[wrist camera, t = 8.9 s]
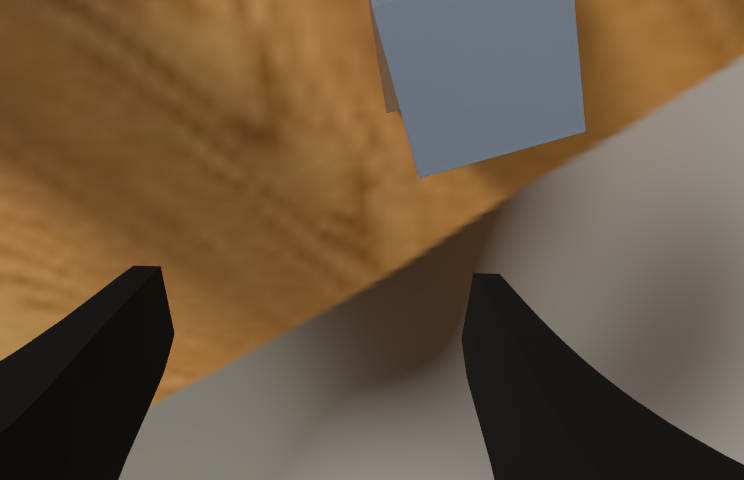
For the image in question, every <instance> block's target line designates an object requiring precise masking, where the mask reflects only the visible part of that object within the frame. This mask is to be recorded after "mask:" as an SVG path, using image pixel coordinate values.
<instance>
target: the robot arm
mask: <svg viewBox="0 0 744 480" xmlns="http://www.w3.org/2000/svg"><path fill="white" fill-rule="evenodd" d="M173 338H174V329H173V324H172V319H171V314H170V310H169V305H168V300H167V295H166V290H165V285H164V281H163V276H162V271H161V266H133V267H131V268H130V269H128V270H127V271H125V272H124V273H123V274H121V275H120V276H119V277H117V278H116V279H115V280H113V281H112V282H111V283H110V284H108V285H107V286H106V287H104V288H103V289H102V290H101V291H99V292H98V293H97V294H95V295H94V296H93V297H91V298H90V299H89V300H88V301H86V302H85V303H84V304H82V305H81V306H80V307H78V308H77V309H76V310H74V311H73V312H72V313H70V314H69V315H68V316H66V317H65V318H64V319H62V320H61V321H59V322H58V323H57V324H55V325H54V326H52V327H51V328H49V329H48V330H46V331H45V332H44V333H42V334H41V335H39V336H38V337H36V338H35V339H33V340H32V341H31V342H29V343H28V344H26V345H25V346H23V347H22V348H20V349H19V350H17V351H16V352H14V353H13V354H11V355H9V356H8V357H6V358H5V359H3V360H1V361H0V480H118V479H119V476H120V474H121V471H122V469H123V466H124V464H125V461H126V458H127V456H128V454H129V452H130V449H131V447H132V445H133V443H134V440H135V438H136V436H137V434H138V431H139V429H140V427H141V424H142V422H143V420H144V418H145V415H146V413H147V411H148V408H149V406H150V404H151V402H152V399H153V397H154V395H155V392H156V390H157V388H158V385H159V383H160V381H161V378H162V376H163V373H164V370H165V367H166V363H167V360H168V357H169V353H170V349H171V345H172V342H173ZM462 345H463V353H464V360H465V367H466V373H467V379H468V383H469V386H470V390H471V394H472V398H473V401H474V405H475V409H476V412H477V416H478V419H479V422H480V426H481V430H482V433H483V437H484V441H485V444H486V448H487V452H488V455H489V459H490V462H491V467H492V471H493V475H494V479H495V480H744V465H743V464H741V463H739V462H737V461H735V460H733V459H731V458H729V457H727V456H725V455H723V454H722V453H720V452H718V451H716V450H714V449H713V448H711V447H709V446H708V445H706V444H704V443H702V442H700V441H699V440H697V439H695V438H693V437H692V436H690V435H688V434H686V433H685V432H683V431H682V430H680V429H679V428H677V427H675V426H674V425H672V424H670V423H669V422H667V421H666V420H664V419H663V418H661V417H659V416H658V415H657V414H655V413H654V412H652V411H651V410H649V409H647V408H646V407H645V406H643V405H642V404H640V403H639V402H637V401H636V400H634V399H633V398H631V397H630V396H629V395H627V394H626V393H624V392H623V391H622V390H620V389H619V388H618V387H617V386H615V385H614V384H613V383H611V382H610V381H609V380H608V379H606V378H605V377H604V376H602V375H601V374H600V373H599V372H597V371H596V370H595V369H594V368H593V367H591V366H590V365H589V364H588V363H587V362H586V361H584V360H583V359H582V358H581V357H580V356H579V355H578V354H577V353H576V352H574V351H573V350H572V349H571V348H570V347H569V346H568V345H567V344H565V342H563V341H562V340H561V339H560V338H559V337H558V336H557V335H556V334H555V333H554V332H553V331H552V330H551V329H550V328H549V327H548V326H547V325H546V324H545V323H544V322H543V321H542V320H541V319H540V318H539V317H538V316H537V315H536V314H535V312H534V311H533V310H531V308H530V307H529V306H528V305H527V304H526V303H525V302H524V301H523V300H522V298H521V297H520V296H519V295H518V294H517V293H516V292H515V291H514V290H513V288H512V287H511V286H510V285H509V284H508V283H507V282H506V281H505V280H504V279H503V277H502V276H501V275H500V274H479V273H474V274H473V279H472V284H471V289H470V295H469V300H468V306H467V312H466V317H465V323H464V329H463V334H462Z"/></svg>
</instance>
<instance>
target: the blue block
mask: <svg viewBox="0 0 744 480" xmlns="http://www.w3.org/2000/svg"><path fill="white" fill-rule="evenodd" d="M371 4H372V9H373V12H374V16H375V20H376V23H377V27H378V31H379V34H380V38H381V42H382V45H383V49H384V52H385V56H386V60H387V63H388V67H389V71H390V74H391V78H392V81H393V85H394V89H395V92H396V96H397V100H398V103H399V107H400V110H401V114H402V118H403V121H404V125H405V129H406V132H407V136H408V140H409V143H410V147H411V150H412V154H413V158H414V161H415V165H416V169H417V172H418V176H419V178H422V177H425V176H429V175H433V174H436V173H440V172H443V171H447V170H451V169H454V168H458V167H461V166H465V165H468V164H472V163H476V162H479V161H483V160H486V159H490V158H494V157H497V156H501V155H504V154H508V153H511V152H515V151H519V150H522V149H526V148H529V147H533V146H537V145H540V144H544V143H547V142H551V141H554V140H558V139H562V138H565V137H569V136H572V135H576V134H580V133H583V132H586V129H585V117H584V106H583V94H582V82H581V71H580V59H579V47H578V36H577V24H576V13H575V1H574V0H371Z"/></svg>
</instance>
